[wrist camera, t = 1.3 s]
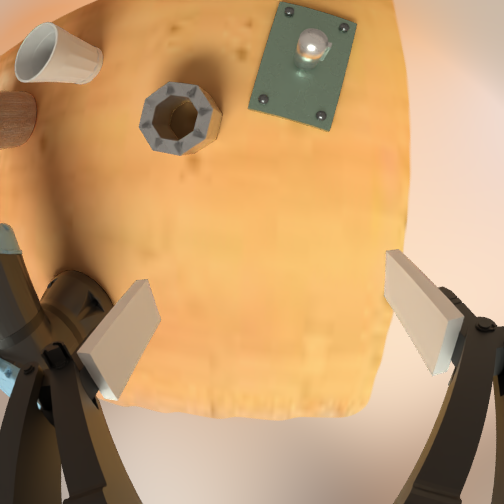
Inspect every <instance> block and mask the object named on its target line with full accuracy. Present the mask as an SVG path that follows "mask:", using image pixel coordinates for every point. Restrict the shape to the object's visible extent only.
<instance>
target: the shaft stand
mask: <svg viewBox="0 0 504 504" xmlns="http://www.w3.org/2000/svg"><path fill="white" fill-rule="evenodd" d="M356 26H357V24H356V23H354V22H351V21H348V20H345V19H342V18H339V17H336V16H333V15H330V14H327V13H324V12H320V11H317V10H314V9H310V8H306V7H302V6H298V5H294V4H290V3H286V2H281V1H280V3H279V6H278V9H277V13H276V16H275V19H274V22H273V25H272V28H271V31H270V35H269V38H268V41H267V44H266V48H265V51H264V54H263V57H262V61H261V64H260V68H259V71H258V74H257V78H256V81H255V85H254V88H253V92H252V95H251V99H250V103H249V106H248V109H249V110H252V111H256V112H260V113H264V114H268V115H272V116H276V117H280V118H283V119H287V120H291V121H294V122H297V123H301V124H304V125H307V126H311V127H314V128H317V129H320V130H323V131H326V132H329V131H330V128H331V124H332V121H333V117H334V114H335V110H336V106H337V102H338V99H339V95H340V91H341V87H342V83H343V80H344V76H345V72H346V68H347V64H348V60H349V56H350V52H351V47H352V43H353V39H354V35H355V30H356Z"/></svg>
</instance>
